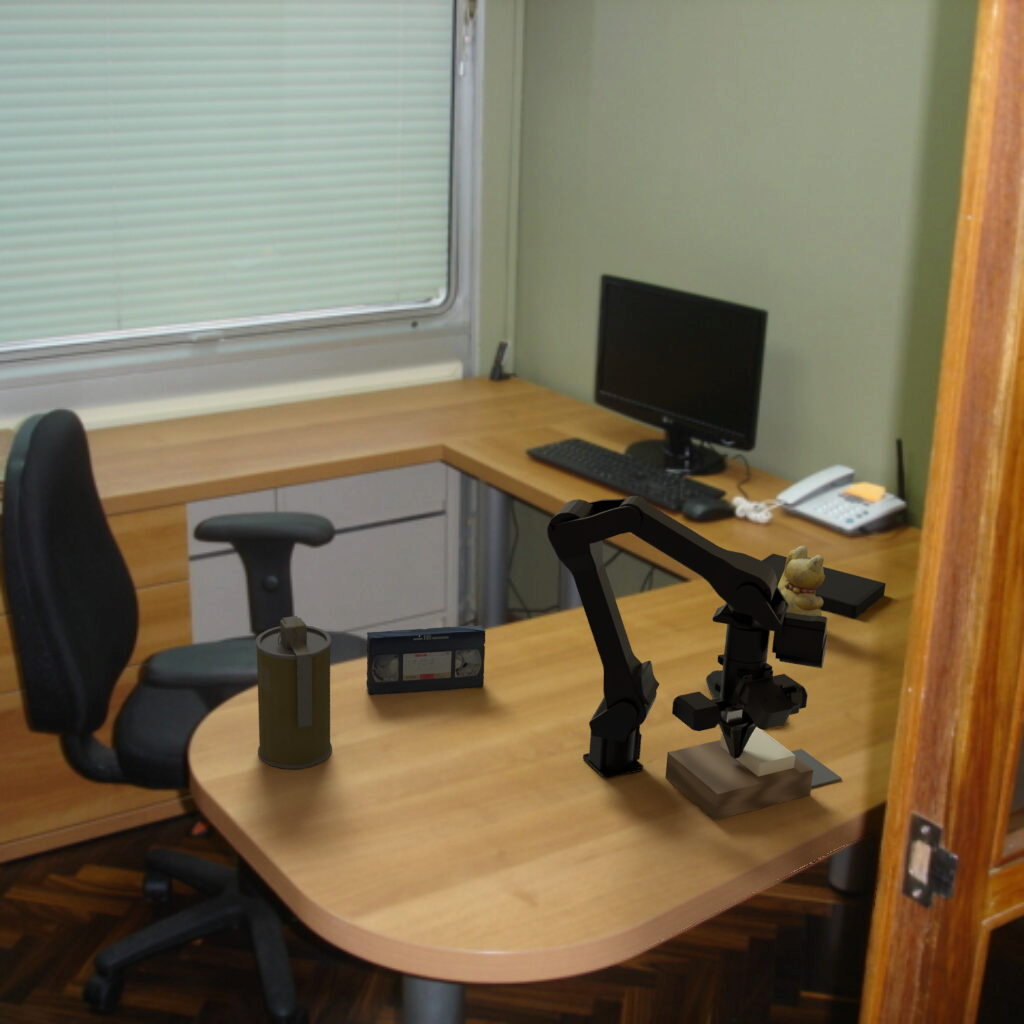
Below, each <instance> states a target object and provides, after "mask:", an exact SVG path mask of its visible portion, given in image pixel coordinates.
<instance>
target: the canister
mask: <svg viewBox="0 0 1024 1024" xmlns="http://www.w3.org/2000/svg"><path fill="white" fill-rule="evenodd" d="M279 625H280V626H276V627H272V628H269V629H266V630H265V631H262V632H261V633H260V634H259V635H258V636H257V637H256V639H255V641H254V643H255V644H254V645H255V647H256V670H257V698H258V700H257V701H258V703H257V705H258V732H259V733H258V737H259V738H258V739H259V740H258V741H259V742H258V743H259V744H258V745H259V746H258V748H257V753H258V754H257V755H258V757H259V758H260V760H261V761H262V762H264V763H266V764H267V765H269V766H271V767H275V768H279V769H289V770H290V769H291V770H301V769H305V768H310V767H314V766H317V765H319V764H321V763H323V762H324V761H326V760H327V759H329V758H330V756H331V754H332V750H333V746H332V743H331V646H332V643H333V641H332V637H331V635H330V634H329V633H328V632H327V631H325V630H323V629H322V628H319V627H316V626H313V625H307V624H306V622H305V621H303V619H302V618H301V617H298V616H297V615H293V616H287V617H281V618H280V621H279Z"/></svg>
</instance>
